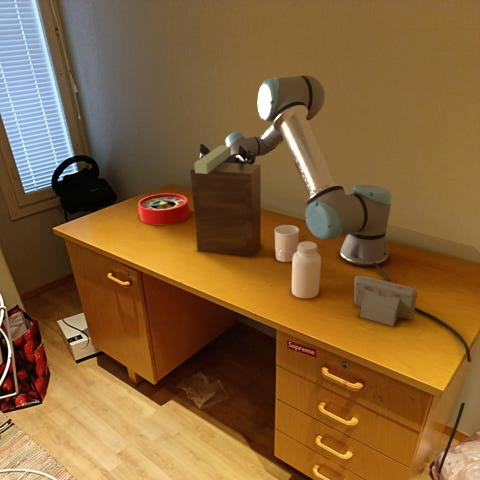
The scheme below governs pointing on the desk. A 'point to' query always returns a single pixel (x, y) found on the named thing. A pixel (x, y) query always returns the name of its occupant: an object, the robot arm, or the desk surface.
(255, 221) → the shelf stand
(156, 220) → the toy clock
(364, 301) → the digital clock
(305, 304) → the desk surface
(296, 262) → the pill bottle
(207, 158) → the pencil tin
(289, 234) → the white cup
